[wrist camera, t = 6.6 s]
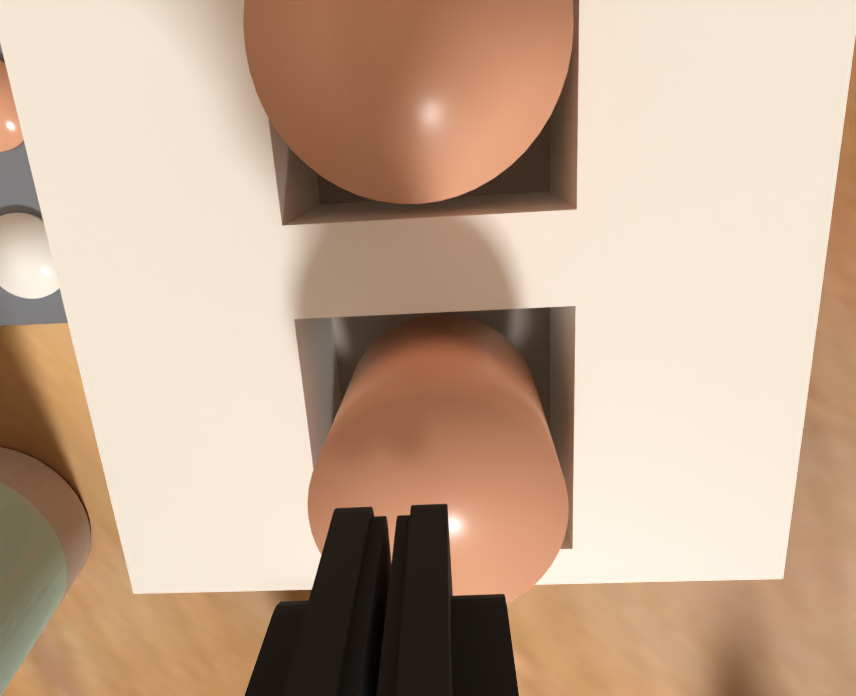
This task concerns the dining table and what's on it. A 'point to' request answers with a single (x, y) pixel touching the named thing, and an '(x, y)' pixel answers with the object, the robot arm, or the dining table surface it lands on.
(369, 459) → the button
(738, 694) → the dining table surface
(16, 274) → the pattern tile
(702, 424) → the board
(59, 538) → the coffee cup
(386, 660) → the robot arm
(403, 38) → the button
